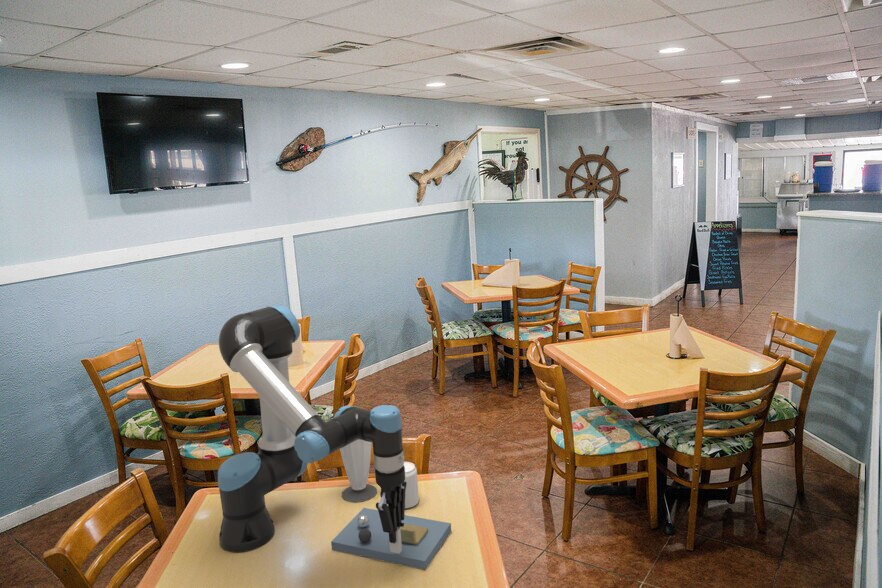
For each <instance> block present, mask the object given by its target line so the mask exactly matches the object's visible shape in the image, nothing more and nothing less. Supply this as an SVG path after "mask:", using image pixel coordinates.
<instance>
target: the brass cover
mask: <svg viewBox="0 0 882 588" xmlns="http://www.w3.org/2000/svg"><path fill="white" fill-rule="evenodd" d="M400 530H401V542H404V543H409V544H414V545H418V544H419V543H420V542H421V540H422V539H423V537H424V536H425V535H426V533H427V532H428V528H425V527H419V526H414V525H409V524H405V525H404V526H403V527H400Z"/></svg>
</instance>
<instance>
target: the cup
mask: <svg viewBox="0 0 882 588" xmlns="http://www.w3.org/2000/svg"><path fill="white" fill-rule="evenodd" d="M372 445H373V444H372V442H368V441H364V440H360V439H358V440H356V441H354V442H352V443H350V444H348V445H346V446H345V447H342V448H340V449H339V451H340V454H341V459H342V463H343V466H344V469H345V473H346V476H347V478H348V481H349V485H350V486H348V487H346V488H345V489H344V490H343V491H342V492H341V497H342V499H343V500H344V501H346V502H347V503H348V502H349V503H354V504H355V503H363V502H366V501H369V500H371V499H372V498H373V499H374V498H375V496H376V495H377V493H378V488H377V487H375V485H373V484H370V483H368V479H369V473H370V467H371V458H372V457H371V456H372Z"/></svg>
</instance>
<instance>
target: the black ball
mask: <svg viewBox="0 0 882 588" xmlns="http://www.w3.org/2000/svg"><path fill="white" fill-rule="evenodd" d="M358 537H359V540H360V541H361V542H368V541H369V540H370V539H371V532H370V530H368V529H362V530H361V531H360V532H359V535H358Z"/></svg>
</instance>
